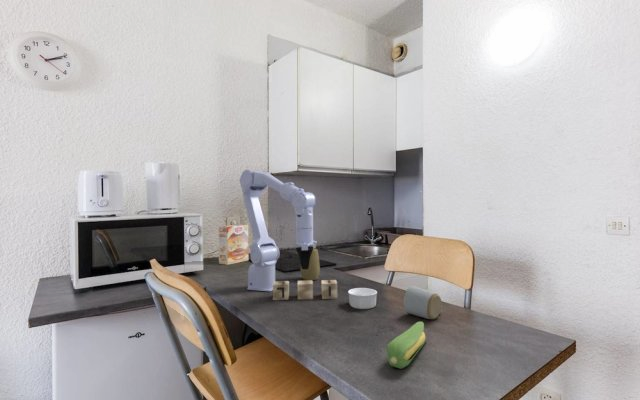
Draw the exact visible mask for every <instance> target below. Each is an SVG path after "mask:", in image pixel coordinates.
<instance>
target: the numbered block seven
mask: <svg viewBox="0 0 640 400" xmlns="http://www.w3.org/2000/svg"><path fill="white" fill-rule="evenodd" d="M289 299H290V281H289V280H275V281H274V283H273V290H272V300H273V301H288V300H289Z"/></svg>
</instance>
